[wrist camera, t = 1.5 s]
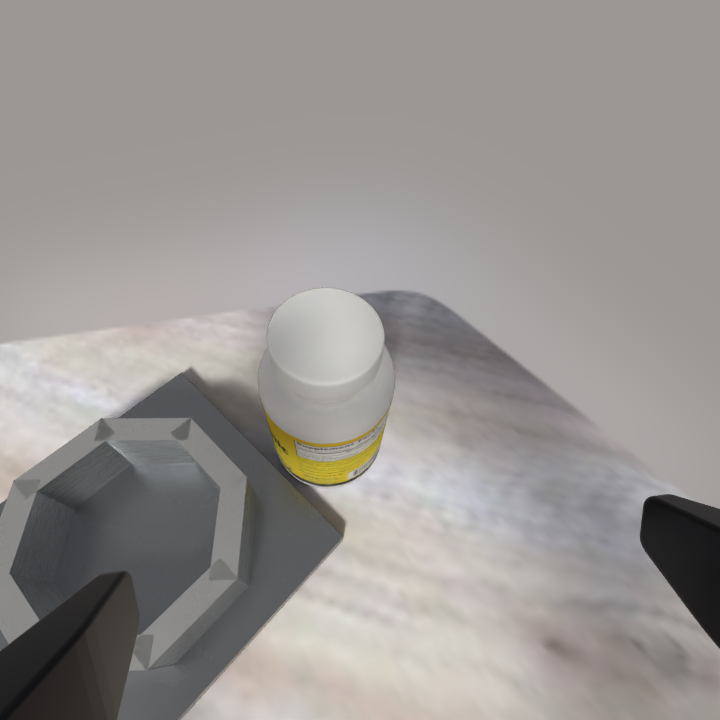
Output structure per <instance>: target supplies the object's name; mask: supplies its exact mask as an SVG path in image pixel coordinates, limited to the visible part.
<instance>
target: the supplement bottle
mask: <svg viewBox="0 0 720 720" xmlns="http://www.w3.org/2000/svg"><path fill="white" fill-rule="evenodd" d="M384 341H385V335H384V328H383V324H382V322H381V319H380V317H379V315H378V314H377V312H376V311H375V310H374V309H373V307H372V306H371V305H370V304H369V303H368V302H366V301H365V300H364V299H362V298H361V297H359V296H357V295H355V294H353V293H351V292H348V291H345V290H341V289H336V288H315V289H311V290H306V291H303V292H301V293H298V294H296V295H294V296H292V297H290V298H289V299H288V300H286V301H285V302H284V303H283V304H281V305H280V306H279V307H278V309H277V310H276V311H275V313H274V314H273V316H272V318H271V320H270V322H269V325H268V329H267V346H268V347H267V349H266V351H265V353H264V355H263V357H262V360H261V362H260V366H259V371H258V388H259V394H260V399H261V402H262V406H263V409H264V412H265V415H266V418H267V422H268V425H269V428H270V431H271V434H272V437H273V441H274V444H275V448H276V451H277V453H278V456H279V458H280V460H281V462H282V464H283V465H284V467H285V468H286V469H287V471H288V472H289V473H290V474H291V475H292V476H294V477H295V478H296V479H298V480H299V481H301V482H303V483H305V484H308V485H310V486H314V487H319V488H335V487H341V486H344V485H347V484H349V483H352V482H353V481H355V480H357V479H358V478H360V477H361V476H362V475H363V474H365V473H366V472H367V470H368V469H369V468H370V467H371V465H372V464H373V462H374V460H375V458H376V456H377V454H378V451H379V448H380V444H381V441H382V436H383V433H384V428H385V425H386V420H387V417H388V413H389V409H390V405H391V401H392V398H393V393H394V388H395V370H394V365H393V361H392V358H391V356H390V353H389V351H388V350H387V348H386V346H385V345H384Z"/></svg>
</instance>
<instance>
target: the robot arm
mask: <svg viewBox="0 0 720 720" xmlns="http://www.w3.org/2000/svg"><path fill="white" fill-rule="evenodd" d="M640 541H641V544H642V546H643V548H644V550H645V552H646V553H647V554H648V556H649V557H650V558H651V560H652V561H653V562H654V564H655V565H656V567H657V568H658V569H659V571H660V572H661V573H662V575H663V576H664V577H665V579H666V580H667V581H668V583H669V584H670V585H671V587H672V588H673V589H674V591H675V592H676V594H677V595H678V596H679V598H680V599H681V600H682V602H683V603H684V604H685V606H686V607H687V608H688V610H689V611H690V612H691V614H692V615H693V616H694V618H695V619H696V620H697V622H698V623H699V624H700V626H701V627H702V628H703V629H704V631H705V632H706V633H707V634H708V635H709V637H710V638H711V639H712V640H713V641H714V643H715V644H716V645H717V646H718V647H719V648H720V509H718V508H715V507H711V506H708V505H705V504H701V503H698V502H695V501H691V500H688V499H685V498H681V497H678V496H675V495H670V494H666V495H658V496H651V497H649V498H647V499H646V501H645V502H644V505H643V513H642V521H641V530H640ZM139 621H140V616H139V609H138V604H137V600H136V595H135V590H134V586H133V581H132V577H131V575H130V573H129V572H127V571H125V570H122V571H115V572H108V573H102V574H99V575H98V576H96V577H95V578H94V579H92V580H91V581H90V582H88V583H87V584H86V585H85V586H83V587H82V588H81V589H79V590H78V591H77V592H76V593H74V594H73V595H72V596H70V597H69V598H68V599H66V600H65V601H64V602H63V603H61V604H60V605H59V606H57V607H56V608H55V609H54V610H52V611H51V612H50V613H48V614H47V615H46V616H45V617H43V618H42V619H41V620H39V621H38V622H37V623H35V624H34V625H33V626H32V627H30V628H29V629H28V630H26V631H25V632H24V633H23V634H21V635H20V636H19V637H17V638H16V639H15V640H13V641H12V642H11V643H10V644H8V645H7V646H6V647H4V648H3V649H2V650H1V651H0V720H117V719H118V714H119V710H120V706H121V702H122V697H123V693H124V689H125V685H126V680H127V676H128V672H129V668H130V663H131V659H132V655H133V651H134V646H135V642H136V638H137V634H138V629H139Z"/></svg>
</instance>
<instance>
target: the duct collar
mask: <svg viewBox="0 0 720 720" xmlns="http://www.w3.org/2000/svg"><path fill="white" fill-rule="evenodd" d="M342 540H343V536H342V535H341V534H340V533H339V532H338V531H337V530H336V529H335V528H334V527H333V526H332V525H331V524H330V523H329V522H328V521H327V520H326V519H325V518H324V517H323V516H322V515H321V514H320V513H319V512H318V511H317V510H316V509H315V508H314V507H313V506H312V505H311V504H310V503H309V502H308V501H307V499H306V498H305V497H304V496H303V495H302V494H301V493H300V492H299V491H298V490H297V489H296V488H295V487H294V486H293V485H292V484H291V483H290V482H289V481H288V480H287V479H286V478H285V477H284V476H283V475H282V474H281V473H280V472H279V471H278V470H277V469H276V468H275V467H274V466H273V465H272V464H271V463H270V462H269V461H268V460H267V459H266V458H265V457H264V456H263V455H262V454H261V453H260V452H259V451H258V450H257V449H256V448H255V447H254V446H253V445H252V444H251V443H250V442H249V441H248V440H247V439H246V438H245V437H244V436H243V435H242V434H241V433H240V432H239V431H238V430H237V429H236V428H235V427H234V425H233V424H232V423H231V422H230V421H229V420H228V419H227V418H226V417H225V416H224V415H223V414H222V413H221V412H220V411H219V410H218V409H217V408H216V407H215V406H214V405H213V404H212V403H211V402H210V401H209V400H208V399H207V398H206V397H205V396H204V395H203V394H202V393H201V392H200V391H199V390H198V389H197V388H196V387H195V386H194V385H193V384H192V383H191V382H190V381H189V380H188V379H187V378H186V377H185V376H184V375H183V374H182V373H180V374H179V375H177V376H176V377H175V378H173V379H172V380H171V381H169V382H168V383H166V384H165V385H164V386H162V387H161V388H160V389H158V390H157V391H155V392H154V393H153V394H151V395H150V396H148V397H147V398H146V399H144V400H143V401H142V402H140V403H139V404H137V405H136V406H135V407H133V408H132V409H131V410H129V411H128V412H126V413H125V414H124V415H122V416H121V417H120V418H118V419H103V418H101V419H100V420H99V421H97V422H96V423H94V424H93V425H92V426H90V427H89V428H87V429H86V430H85V431H83V432H82V433H80V434H79V435H78V436H76V437H75V438H73V439H72V440H71V441H69V442H68V443H66V444H65V445H64V446H62V447H61V448H59V449H58V450H57V451H55V452H54V453H52V454H51V455H50V456H48V457H47V458H45V459H44V460H42V461H41V462H40V463H38V464H37V465H35V466H34V467H33V468H31V469H30V470H28V471H27V472H26V473H24V474H23V475H21V476H20V477H19V478H17V479H16V480H14V481H13V484H12V487H11V490H10V492H9V495H8V498H7V499H6V500H5V501H4V502H2V503H1V504H0V650H2V649H3V648H4V647H6V646H7V645H8V644H10V643H11V642H12V641H13V640H15V639H16V638H17V637H19V636H20V635H21V634H23V633H24V632H25V631H26V630H28V629H29V628H30V627H32V626H33V625H34V624H35V623H37V622H38V621H39V620H41V619H42V618H43V617H45V616H46V615H47V614H48V613H50V612H51V611H52V610H54V609H55V608H56V607H57V606H59V605H60V604H61V603H63V602H64V601H65V600H66V599H68V598H69V597H70V596H72V595H73V594H74V593H76V592H77V591H78V590H79V589H81V588H82V587H83V586H85V585H86V584H87V583H88V582H90V581H91V580H92V579H94V578H95V577H96V576H98V575H99V574H102V573H108V572H115V571H122V570H125V571H127V572H129V573H130V575H131V577H132V581H133V586H134V590H135V595H136V600H137V604H138V609H139V616H140V621H139V629H138V634H137V638H136V642H135V646H134V651H133V655H132V659H131V663H130V668H129V672H128V676H127V680H126V685H125V689H124V693H123V697H122V702H121V706H120V710H119V714H118V719H117V720H181V719H182V717H183V716H184V715H185V714H186V713H187V712H188V711H189V710H190V709H191V707H192V706H193V705H194V704H195V703H196V702H197V701H198V700H199V699H200V698H201V696H202V695H203V694H204V693H205V692H206V691H207V690H208V689H209V688H210V686H211V685H212V684H213V683H214V682H215V681H216V680H217V679H218V678H219V676H220V675H221V674H222V673H223V672H224V671H225V670H226V669H227V668H228V667H229V665H230V664H231V663H232V662H233V661H234V660H235V659H236V658H237V657H238V655H239V654H240V653H241V652H242V651H243V650H244V649H245V648H246V647H247V646H248V644H249V643H250V642H251V641H252V640H253V639H254V638H255V637H256V636H257V634H258V633H259V632H260V631H261V630H262V629H263V628H264V627H265V626H266V624H267V623H268V622H269V621H270V620H271V619H272V618H273V617H274V616H275V615H276V613H277V612H278V611H279V610H280V609H281V608H282V607H283V606H284V605H285V603H286V602H287V601H288V600H289V599H290V598H291V597H292V596H293V595H294V593H295V592H296V591H297V590H298V589H299V588H300V587H301V586H302V585H303V584H304V582H305V581H306V580H307V579H308V578H309V577H310V576H311V575H312V574H313V572H314V571H315V570H316V569H317V568H318V567H319V566H320V565H321V564H322V562H323V561H324V560H325V559H326V558H327V557H328V556H329V555H330V554H331V553H332V551H333V550H334V549H335V548H336V547H337V546H338V545H339V544H340V543H341V541H342Z"/></svg>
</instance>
